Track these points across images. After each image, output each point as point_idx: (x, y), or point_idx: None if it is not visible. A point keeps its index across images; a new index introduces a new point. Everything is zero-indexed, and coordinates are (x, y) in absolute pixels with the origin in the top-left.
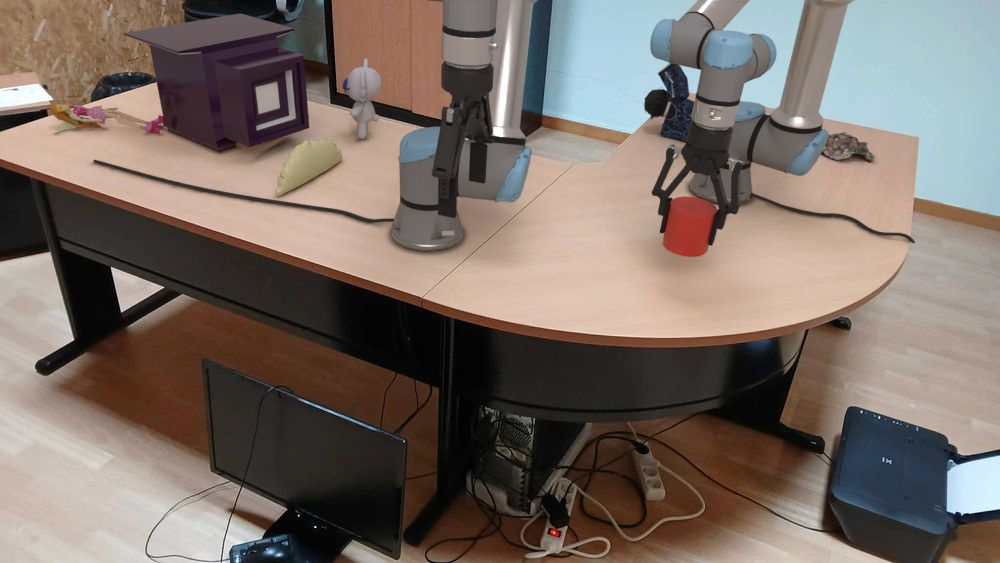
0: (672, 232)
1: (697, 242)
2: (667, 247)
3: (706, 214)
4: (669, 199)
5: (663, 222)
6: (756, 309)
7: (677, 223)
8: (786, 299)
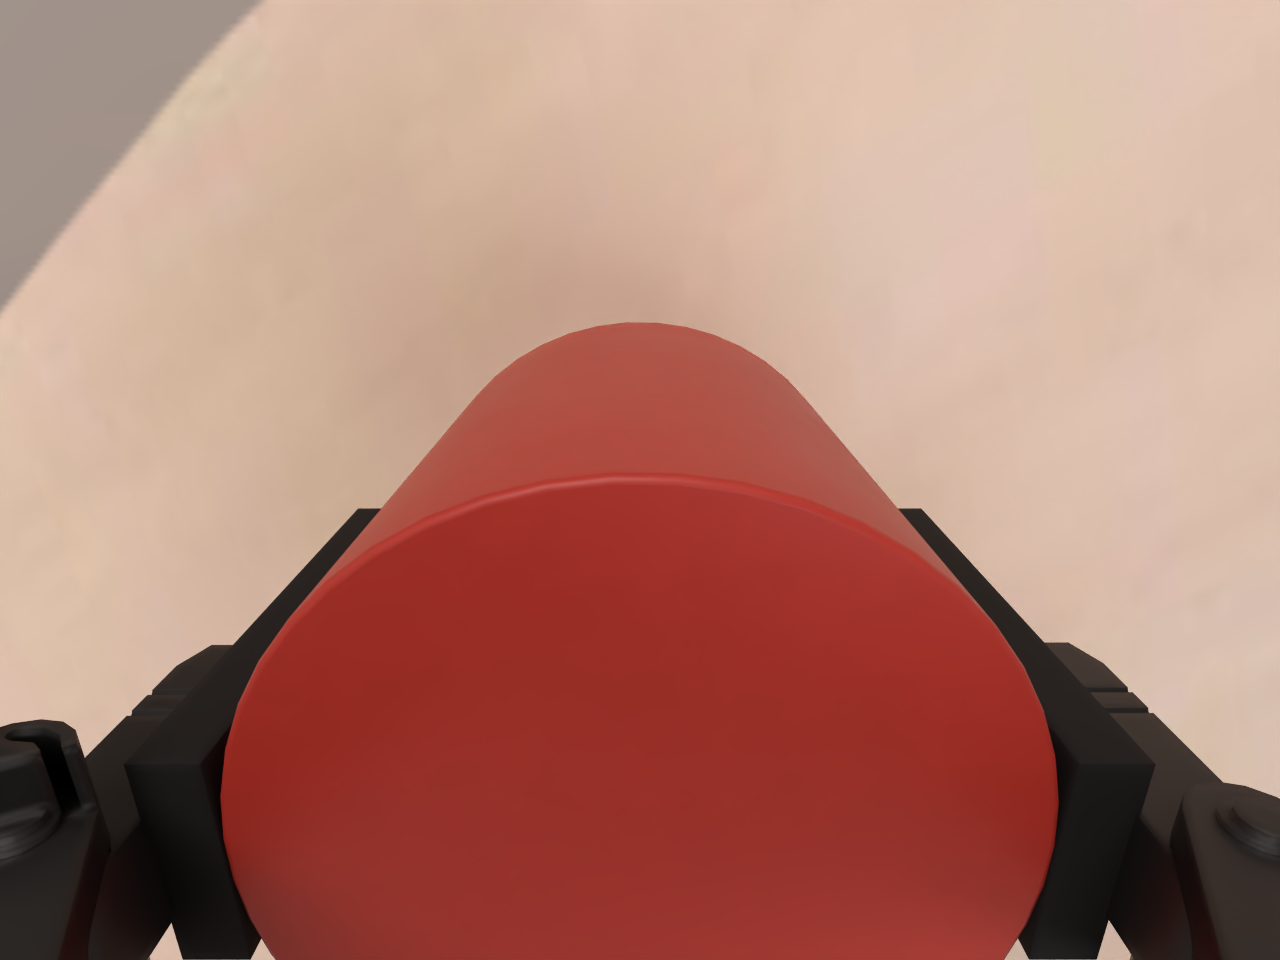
0: (801, 413)
1: (478, 406)
2: (783, 376)
3: (332, 672)
4: (1080, 899)
5: (952, 569)
6: (163, 412)
7: (791, 437)
8: (69, 593)
